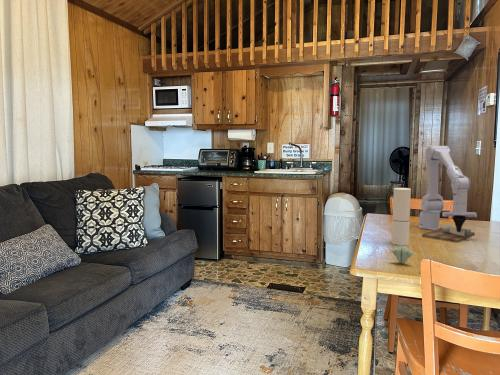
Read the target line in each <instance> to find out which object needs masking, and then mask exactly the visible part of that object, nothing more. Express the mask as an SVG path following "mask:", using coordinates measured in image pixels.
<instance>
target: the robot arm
mask: <svg viewBox="0 0 500 375" xmlns="http://www.w3.org/2000/svg"><path fill="white" fill-rule="evenodd" d="M425 161H426V162H427V193H426V194H425V195H423V196H422V198H421V199H422V200H421V204H420V205H421V211H420V213H419V217H418V219H419V220H418V226H417V227H418V229H419V228H420V229H426V230H430V231H433V230H436V229H439V228H443V226H442V227H441V226H440V217H441V216H440V215H441V213H442V217H445V218H446V217H451V218H452V220H453V222H454V224H455V225H454V226H456V229H457V232H460V231H461V228H463V225H464V224H465V222H466V220H467V217H468V218H477V216H478V214H477V212H474V211H472V212H470V211H467V209H468V208H467V207H468V192H469V191H468V190H470V189H471V186H472V184H471V182H472V181H471V179H470V178H469V177H467V176H466V175H464V173H463V171H462V170H461V169H460V168H459V166H457V165H456V164H454V161H453V159H452V156H451V149H450V147H449V145H429V146H428V147H426V150H425ZM440 163H442V164H443V165H444V167H446V174H447V176H448V178H449V179H450V181H451V183H450V186H451V192H452V196H453V197H452V198H453V200H452V211H443V210H444V209H445V204H444V203H445V202H444V197H443V196H442V195H441V194H439V164H440Z"/></svg>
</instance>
